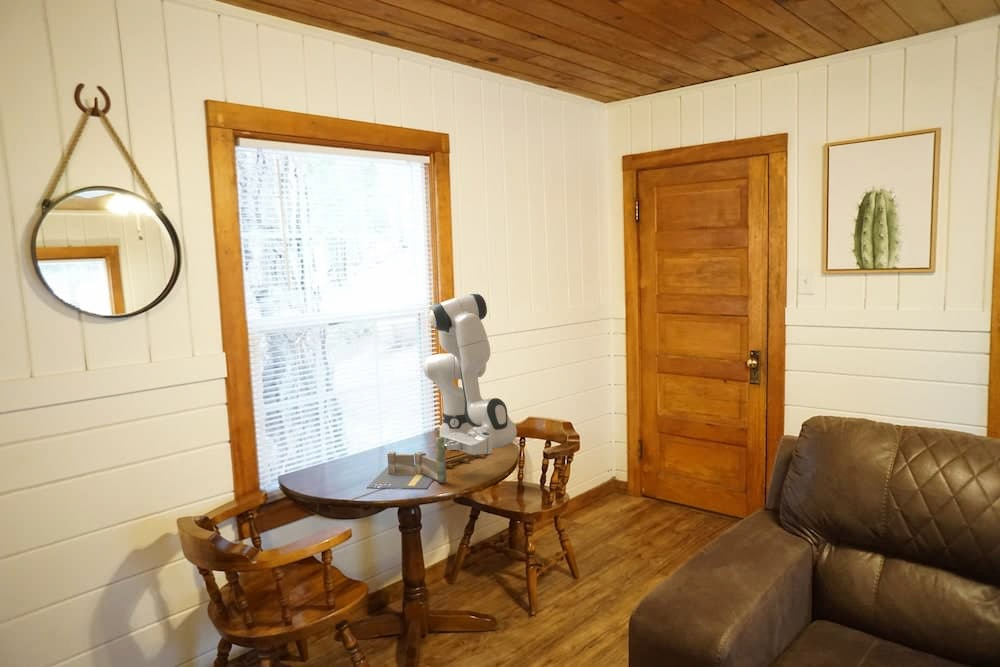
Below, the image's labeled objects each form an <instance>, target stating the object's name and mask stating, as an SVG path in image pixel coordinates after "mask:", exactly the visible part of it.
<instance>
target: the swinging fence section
mask: <svg viewBox="0 0 1000 667" xmlns="http://www.w3.org/2000/svg"><path fill="white" fill-rule="evenodd" d="M435 449H436V450H435V451H436V452H435V453H436V459H437V460H436V459H434V458H433V457H432V458H431V457H429V456H427V453H426V452H424V451H417V452H414V464H415V472H416V473H418V474H424V475H427V476H429V477H431V478H434V480H436V481H437V482H438V483H446V482H447V467H446V459H445V457H446V450H445V438H444V437H440V436H438V437H435Z"/></svg>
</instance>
